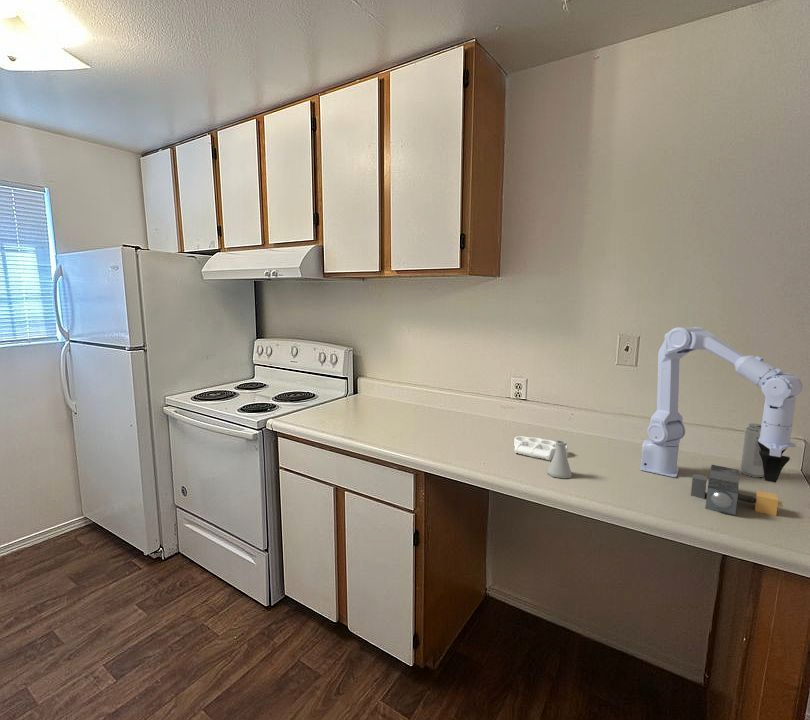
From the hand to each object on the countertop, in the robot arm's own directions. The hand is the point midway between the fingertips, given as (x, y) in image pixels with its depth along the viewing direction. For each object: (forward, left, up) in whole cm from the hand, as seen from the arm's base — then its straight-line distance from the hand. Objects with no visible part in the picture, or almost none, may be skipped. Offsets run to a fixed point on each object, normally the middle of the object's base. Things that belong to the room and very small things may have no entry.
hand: (769, 476), depth 110 cm
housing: (-9, -2, -8) cm, 12 cm away
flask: (-48, -11, -9) cm, 50 cm away
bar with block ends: (-6, -2, -8) cm, 11 cm away
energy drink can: (-2, +25, -9) cm, 27 cm away
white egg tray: (-60, +4, -9) cm, 61 cm away
